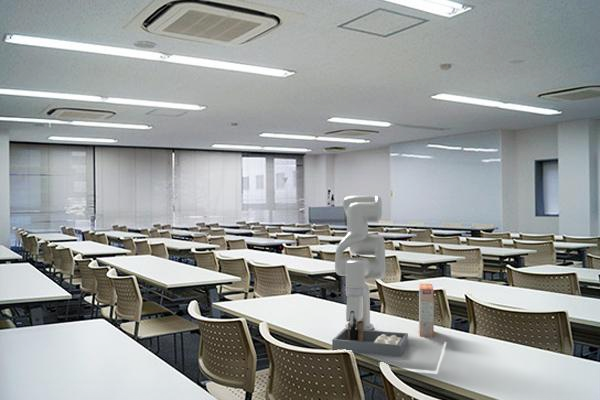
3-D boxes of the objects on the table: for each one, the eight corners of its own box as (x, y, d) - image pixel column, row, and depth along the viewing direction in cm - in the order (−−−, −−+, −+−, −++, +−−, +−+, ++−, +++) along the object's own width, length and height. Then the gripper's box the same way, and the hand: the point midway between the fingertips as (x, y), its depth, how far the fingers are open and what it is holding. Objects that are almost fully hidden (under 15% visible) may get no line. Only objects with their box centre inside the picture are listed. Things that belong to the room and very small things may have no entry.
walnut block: (351, 337, 209) (351, 320, 209) (363, 338, 208) (363, 321, 208) (348, 340, 205) (348, 323, 205) (360, 341, 203) (360, 323, 203)
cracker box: (434, 339, 218) (434, 288, 218) (419, 338, 219) (419, 288, 219) (432, 330, 231) (432, 283, 231) (419, 329, 233) (418, 283, 233)
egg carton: (378, 343, 209) (378, 332, 209) (401, 345, 206) (401, 333, 205) (373, 351, 198) (372, 339, 198) (396, 353, 195) (396, 341, 195)
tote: (344, 340, 217) (344, 328, 217) (408, 345, 208) (407, 333, 208) (332, 352, 200) (332, 339, 200) (400, 359, 191) (400, 345, 191)
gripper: (351, 287, 215) (351, 331, 215) (340, 295, 199) (340, 342, 199) (369, 288, 213) (369, 333, 213) (359, 296, 197) (360, 344, 197)
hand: (355, 337), depth 206 cm, fingers closed on walnut block, 5 cm apart
